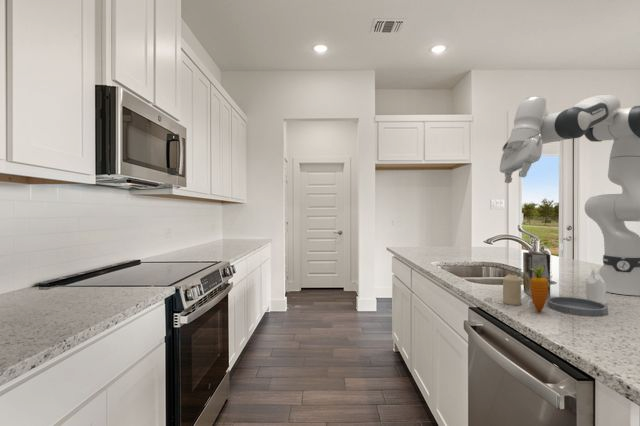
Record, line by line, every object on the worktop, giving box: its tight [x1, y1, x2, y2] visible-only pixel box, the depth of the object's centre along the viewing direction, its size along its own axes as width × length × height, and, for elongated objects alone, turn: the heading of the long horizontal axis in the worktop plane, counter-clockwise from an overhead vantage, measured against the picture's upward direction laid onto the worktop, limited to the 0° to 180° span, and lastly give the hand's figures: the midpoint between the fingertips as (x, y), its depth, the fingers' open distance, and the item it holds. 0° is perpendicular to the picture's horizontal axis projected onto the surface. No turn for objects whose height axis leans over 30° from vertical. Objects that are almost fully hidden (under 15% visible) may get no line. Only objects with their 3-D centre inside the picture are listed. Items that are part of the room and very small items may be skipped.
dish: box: [546, 296, 609, 318], centre depth 114 cm, size 16×16×2 cm
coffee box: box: [522, 251, 551, 299], centre depth 133 cm, size 9×6×16 cm
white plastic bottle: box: [585, 268, 607, 305], centre depth 121 cm, size 6×12×6 cm
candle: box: [502, 273, 522, 306], centre depth 121 cm, size 6×6×10 cm
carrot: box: [530, 265, 548, 313], centre depth 110 cm, size 5×5×15 cm
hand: (514, 179), depth 117 cm, fingers open, 8 cm apart
